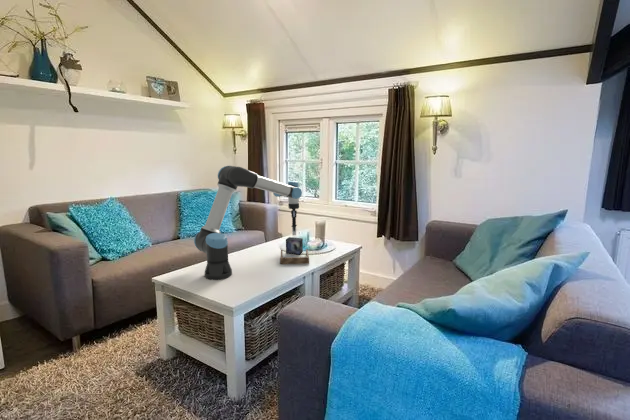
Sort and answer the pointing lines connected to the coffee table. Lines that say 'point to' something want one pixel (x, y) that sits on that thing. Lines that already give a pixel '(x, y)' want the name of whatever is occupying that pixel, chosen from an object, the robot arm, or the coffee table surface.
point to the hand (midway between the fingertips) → (294, 235)
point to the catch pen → (294, 259)
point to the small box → (294, 246)
